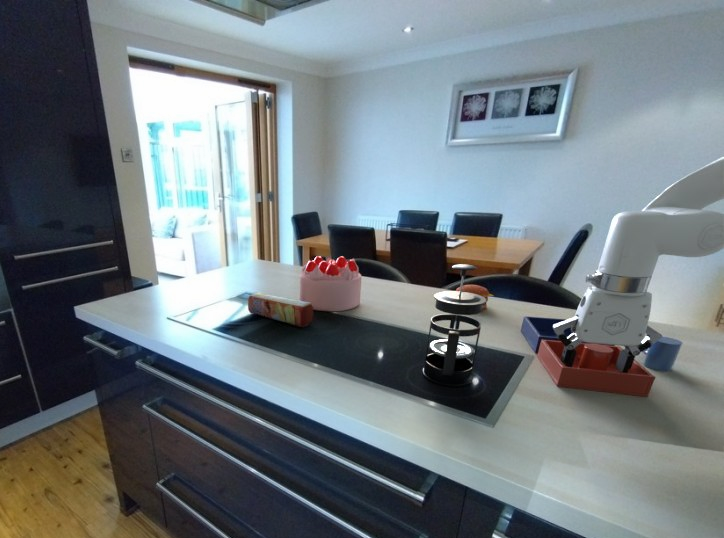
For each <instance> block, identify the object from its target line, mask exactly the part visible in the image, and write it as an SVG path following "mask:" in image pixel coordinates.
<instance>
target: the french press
mask: <svg viewBox="0 0 724 538" xmlns="http://www.w3.org/2000/svg"><path fill="white" fill-rule="evenodd" d="M451 268H452V269H454V270H460V277H461V280H460V286H459V287H460V291H456V290H447V291H439V292H436V293H435V294H434V295H433V298H434V300H435V305H434V306H435V308H436V310H438V311H440V312H443V313H442V314H436V315H433V316H431V318H430V323H429V331H428V338H427V346H426V353H425V360H424V367H423V368H422V375H423V377H424V378H425V379H426V380H427V381H429V382H430V383H432V384H435V385H438V386H442V387H447V388H462V387H466V386H469V385H470V384H471V383H472V381H473V370H474V365H475V359H476V355H477V349H478V344H479V339H480V333H481V329H482V323H481V321H480V320H478V319H476V318H473V317H471V316H473V315H478V314H480V313H481V312H482V311H483V310H482V305H483V304H485V303H486V299H485V298H484V297H482V296H480V295H477V294H473V293H468V292H462V286H464V280H465V277H466V276H467V273H468V271H475V270H477V269H478V267H477V266H475V265H472V264H469V263H457V264H454V265H452V266H451ZM486 304H487V303H486ZM442 321H449V327H446V326H442V325H439V324H437V323H436V322H442ZM461 323H465V324H469V325H471V326H473V327H475V328H470V329H460V325H461ZM432 330H433V331H435V332H436V333H439V334H443V335H446V336H447V339H436V340H432V341H431V334H432V333H431V332H432ZM474 336H476V340H475V346H474V347H472V345H470V344H468V343H465V342H462V341H460V337H464V338H465V337H466V338H467V337H474ZM429 351H430V352H431V353H430V354H429ZM471 357H472V360H471V359H469V358H471ZM454 370H455V371H454Z"/></svg>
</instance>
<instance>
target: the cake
mask: <svg viewBox="0 0 724 538" xmlns="http://www.w3.org/2000/svg"><path fill="white" fill-rule="evenodd" d="M359 271H360V270H359V266H358V265H357V263H356V259H355V258H354V257H353V258H352V259H349V260H348V261H347V259H346V257H345V256H343V255H342V256H339V257H338V258H337V259H336V260H334V259H332V258H331V257H330V256H327V260H324V259H323V257H322V256H321V255H317V256H316V257H315V258H314V260H311V258H308V260H307V261H306V263H305V264H304V266H303V267H302V269H301V273H300V275H299V301H303V302H309V303H311V304H312V306H313V311H319V312H321V311H322V312H342V311H347V310H352V309H355V308H357V307H358V306H359V304H360V303H361V291H362V274H361V273H360V272H359Z"/></svg>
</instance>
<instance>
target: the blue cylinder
mask: <svg viewBox="0 0 724 538" xmlns="http://www.w3.org/2000/svg"><path fill="white" fill-rule="evenodd" d="M682 346H683V342H682V341H681V340H679V339H677V338H673V337H668V336H662V338H661V339H659V340H658V341H657V342H655V343H654V344H652V346H651V347H650V348H648V349H646V350H644V351H642V352H641V353H642V354H644V355H645V358H644V360H643V365H644V367H646V368H648V369H651V370H655V371H660V372H670V371H671V372H672V370H673V367H674V365H675V363H676V360H677V358H678V355H679V353H680V351H681V348H682Z"/></svg>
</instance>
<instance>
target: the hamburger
mask: <svg viewBox="0 0 724 538" xmlns="http://www.w3.org/2000/svg"><path fill="white" fill-rule="evenodd" d="M455 291H460V286H459V287H457V288H456V290H455ZM462 292H468V293H473V294H477V295H480V296H482V297H484V298H485V299H486V303H485V304H483V305H482V310H481V311H484V310H485V309H487V306H488V305H487V302H488V301H489V297H495V295H493V294H491V293H490V292H489V290H488V288H486V287H484V286H481V285H478V284H463V286H462Z"/></svg>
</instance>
